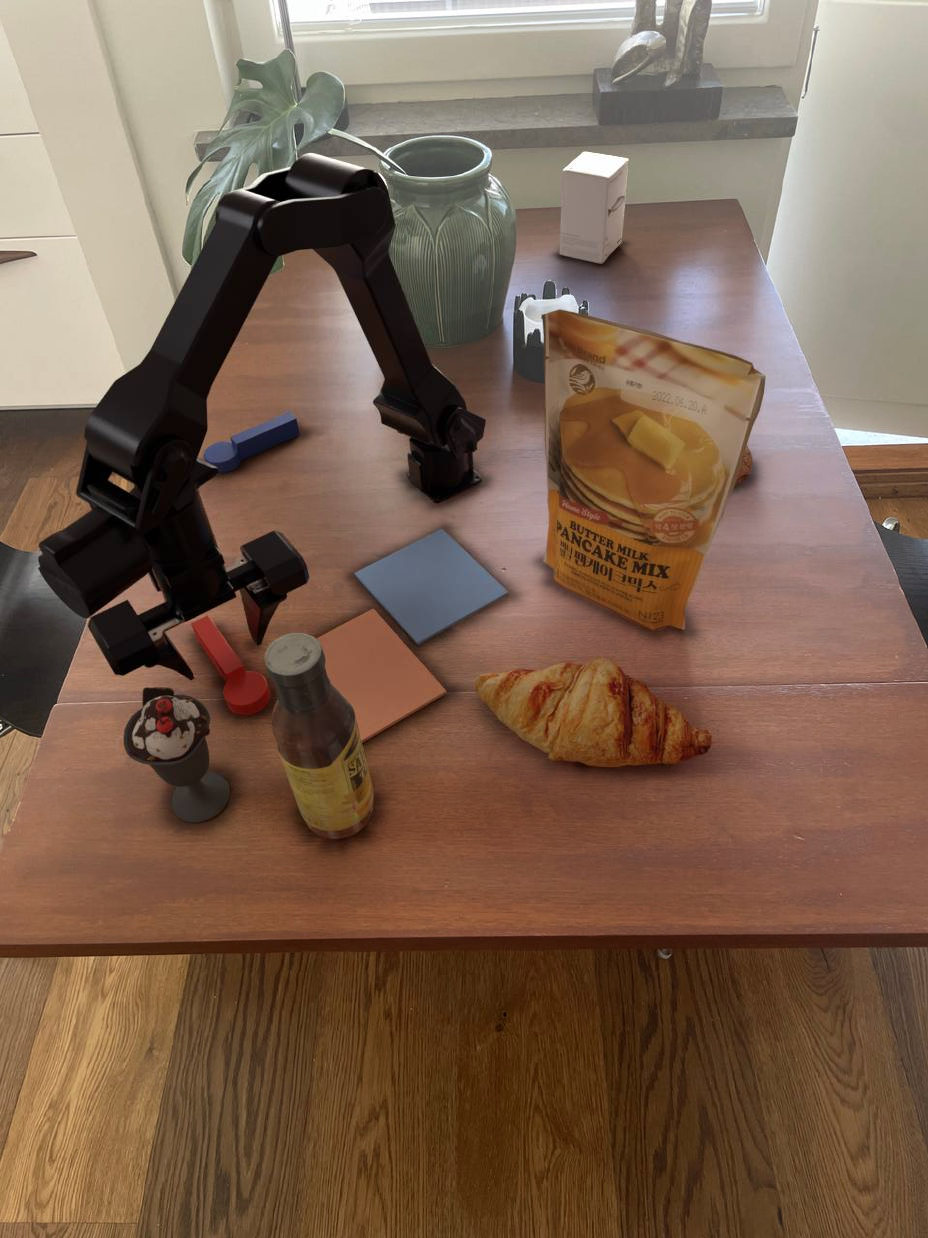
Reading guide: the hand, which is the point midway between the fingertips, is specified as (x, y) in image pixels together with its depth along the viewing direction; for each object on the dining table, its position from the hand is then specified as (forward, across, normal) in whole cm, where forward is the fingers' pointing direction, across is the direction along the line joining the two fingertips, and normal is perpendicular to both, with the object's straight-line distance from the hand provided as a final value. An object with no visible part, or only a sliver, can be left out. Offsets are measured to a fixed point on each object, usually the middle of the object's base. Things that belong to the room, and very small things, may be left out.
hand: (224, 659), depth 88 cm
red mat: (+1, -10, +9) cm, 13 cm away
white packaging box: (+1, -80, -41) cm, 90 cm away
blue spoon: (+1, -18, -29) cm, 34 cm away
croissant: (+1, -23, +26) cm, 35 cm away
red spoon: (+1, 0, 0) cm, 1 cm away
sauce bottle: (+1, -1, +20) cm, 20 cm away
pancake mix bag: (+1, -36, +15) cm, 39 cm away
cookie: (+1, -57, +6) cm, 57 cm away
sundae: (+1, +8, +12) cm, 14 cm away
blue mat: (+1, -22, +3) cm, 22 cm away
